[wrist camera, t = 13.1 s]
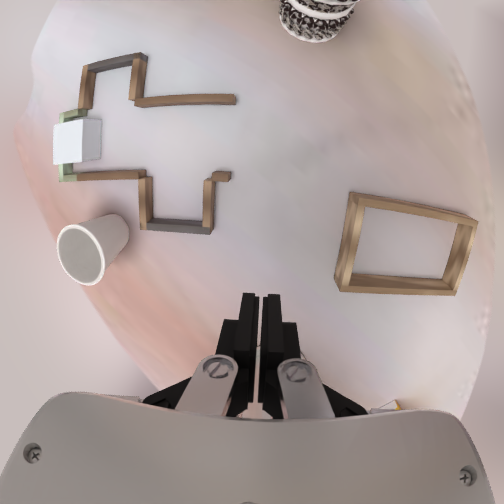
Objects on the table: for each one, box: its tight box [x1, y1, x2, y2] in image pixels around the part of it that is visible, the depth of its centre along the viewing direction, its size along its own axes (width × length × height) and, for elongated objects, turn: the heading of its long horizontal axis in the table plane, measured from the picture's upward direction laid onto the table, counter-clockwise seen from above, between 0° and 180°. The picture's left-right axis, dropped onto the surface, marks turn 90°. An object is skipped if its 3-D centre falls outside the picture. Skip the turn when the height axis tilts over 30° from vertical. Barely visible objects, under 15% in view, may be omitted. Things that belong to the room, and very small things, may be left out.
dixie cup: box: [57, 214, 129, 285], centre depth 34 cm, size 8×8×10 cm
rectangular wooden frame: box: [334, 192, 478, 296], centre depth 35 cm, size 13×22×4 cm, turn 86°
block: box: [53, 119, 102, 165], centre depth 31 cm, size 6×6×5 cm
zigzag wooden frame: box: [58, 52, 236, 235], centre depth 32 cm, size 25×27×2 cm
